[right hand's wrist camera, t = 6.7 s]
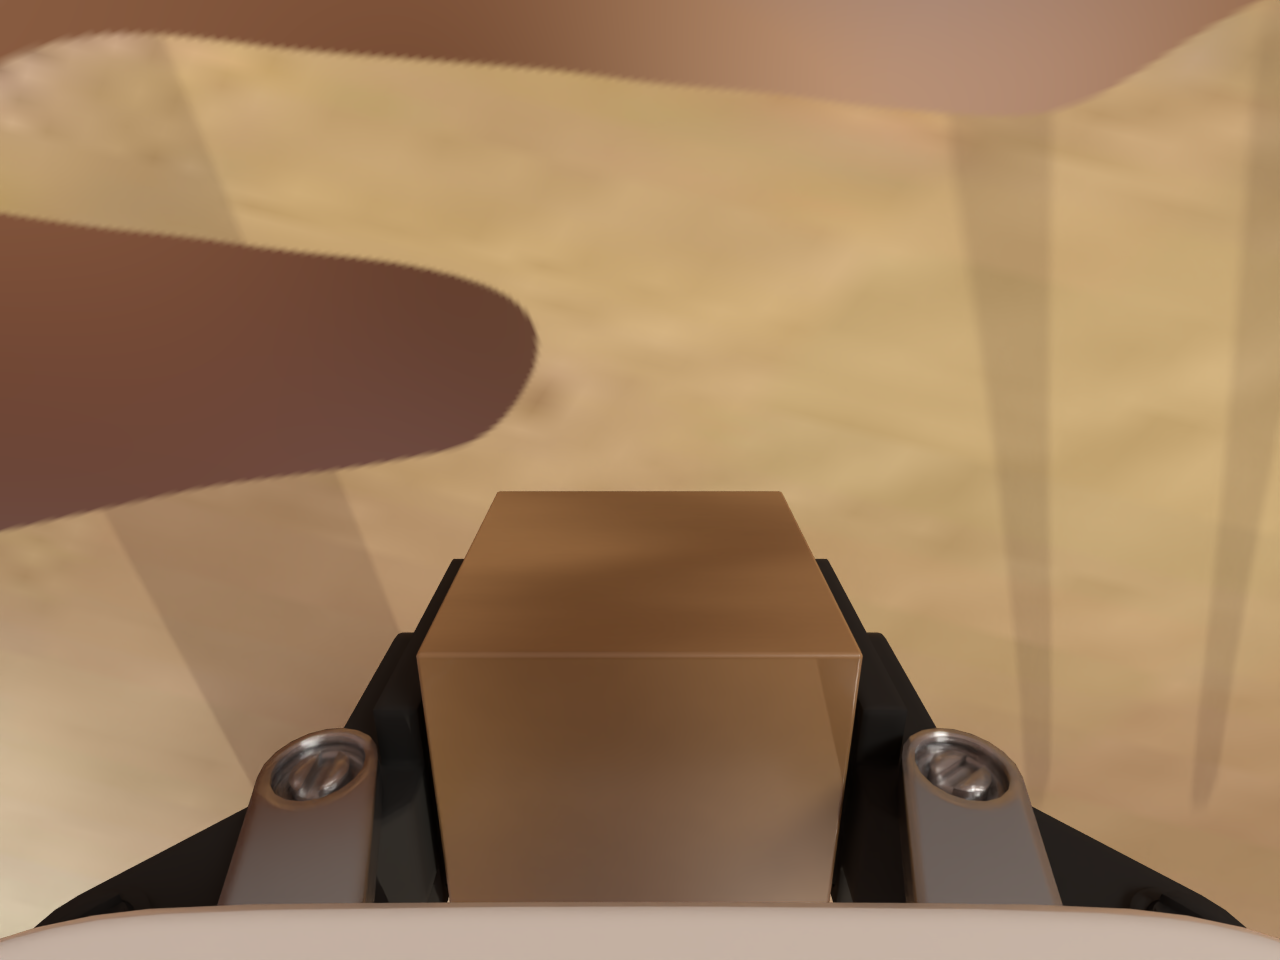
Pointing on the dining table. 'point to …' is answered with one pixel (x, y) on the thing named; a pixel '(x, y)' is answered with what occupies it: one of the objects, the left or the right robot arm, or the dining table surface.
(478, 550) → the brown wooden cube
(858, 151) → the dining table surface
